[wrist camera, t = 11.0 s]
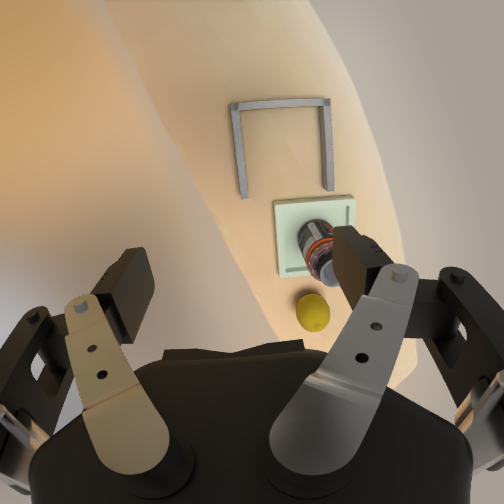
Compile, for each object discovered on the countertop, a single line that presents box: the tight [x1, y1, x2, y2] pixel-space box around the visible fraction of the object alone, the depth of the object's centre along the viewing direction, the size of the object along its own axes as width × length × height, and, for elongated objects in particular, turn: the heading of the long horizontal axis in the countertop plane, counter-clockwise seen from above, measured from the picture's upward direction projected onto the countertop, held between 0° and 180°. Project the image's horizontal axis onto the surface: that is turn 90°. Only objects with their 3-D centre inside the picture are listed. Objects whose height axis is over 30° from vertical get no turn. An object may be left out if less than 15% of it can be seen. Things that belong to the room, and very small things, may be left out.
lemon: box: [296, 294, 330, 332], centre depth 46 cm, size 6×6×8 cm
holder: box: [230, 99, 334, 199], centre depth 37 cm, size 13×13×2 cm
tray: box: [273, 195, 356, 279], centre depth 44 cm, size 12×12×2 cm
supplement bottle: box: [297, 219, 339, 287], centre depth 39 cm, size 6×6×11 cm
